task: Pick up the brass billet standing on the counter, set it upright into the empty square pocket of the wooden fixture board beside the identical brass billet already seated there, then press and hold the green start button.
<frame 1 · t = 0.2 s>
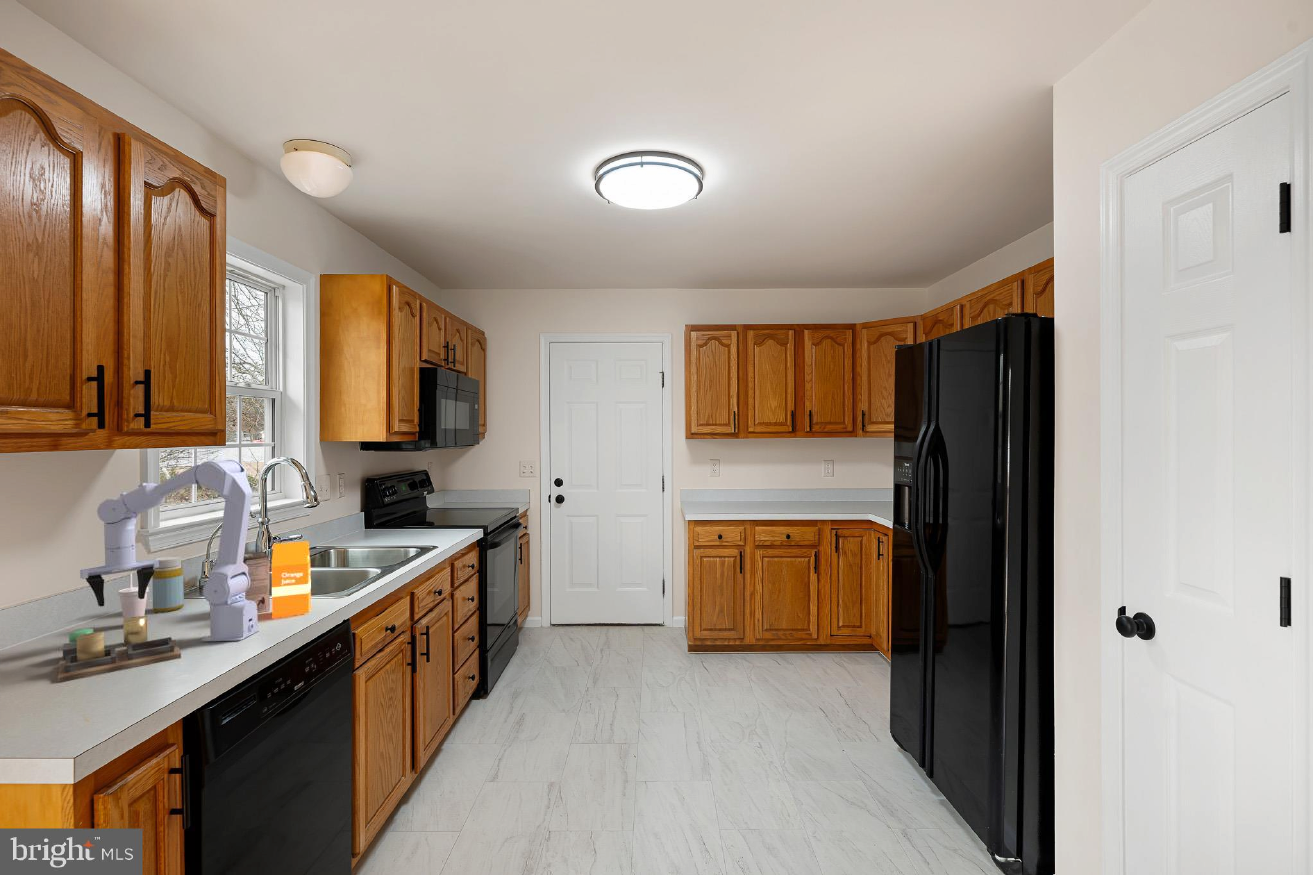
hand: (121, 602, 152), 10 cm above the counter, tool pointing down, fingers open, 7 cm apart
billet: (135, 642, 150), on the counter
button box: (81, 656, 141), on the counter
coffee box: (253, 610, 178), on the counter
start button: (81, 635, 141), point 5 cm above the counter, slide at 0.0 cm
bottle: (168, 610, 179), on the counter
smoothie: (134, 625, 164), on the counter
orange juice: (292, 613, 174), on the counter
wooden fixture board: (121, 661, 137), on the counter
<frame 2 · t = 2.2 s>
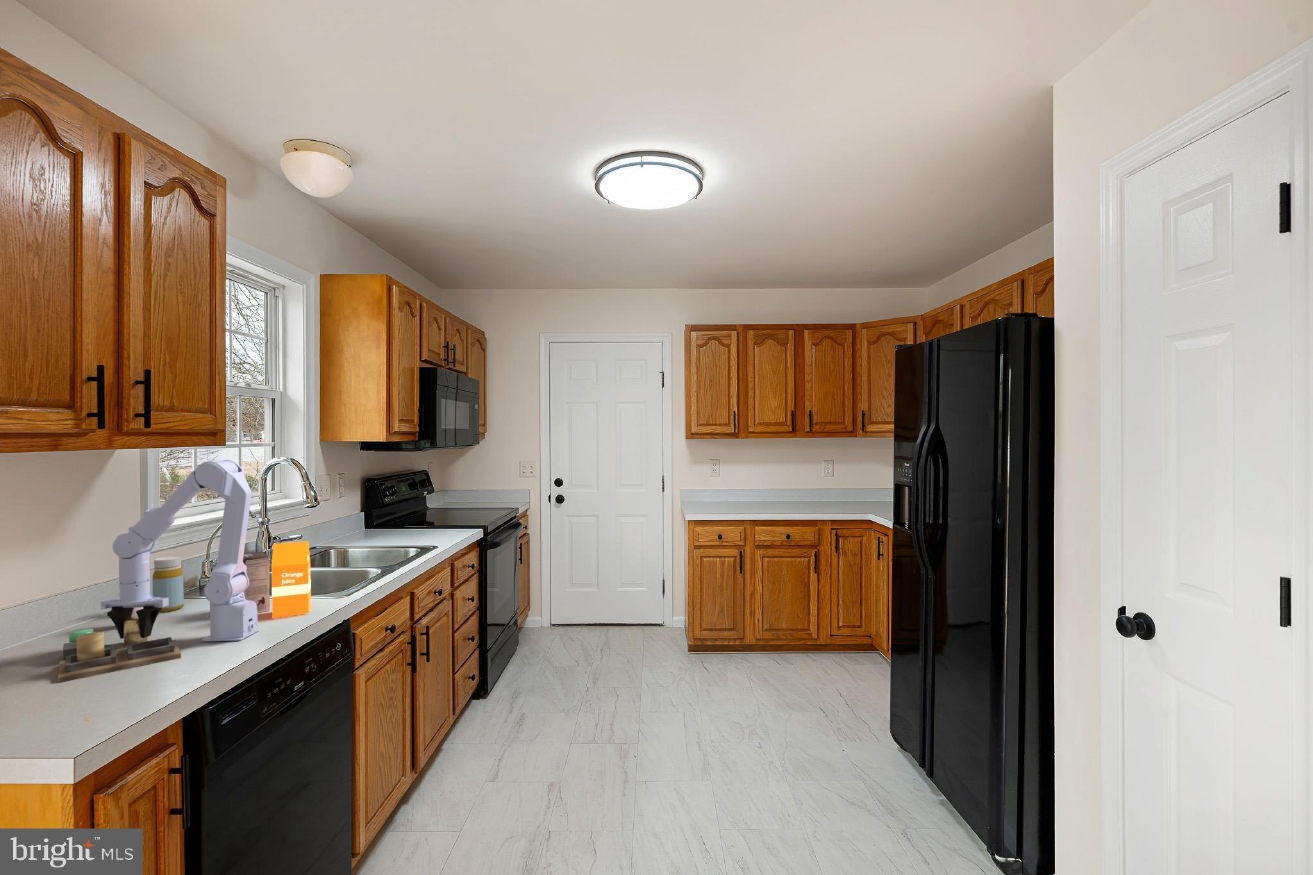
hand: (135, 637, 150), 1 cm above the counter, tool pointing down, fingers closed on billet, 4 cm apart
billet: (135, 642, 150), on the counter, touching gripper
everything else where it was.
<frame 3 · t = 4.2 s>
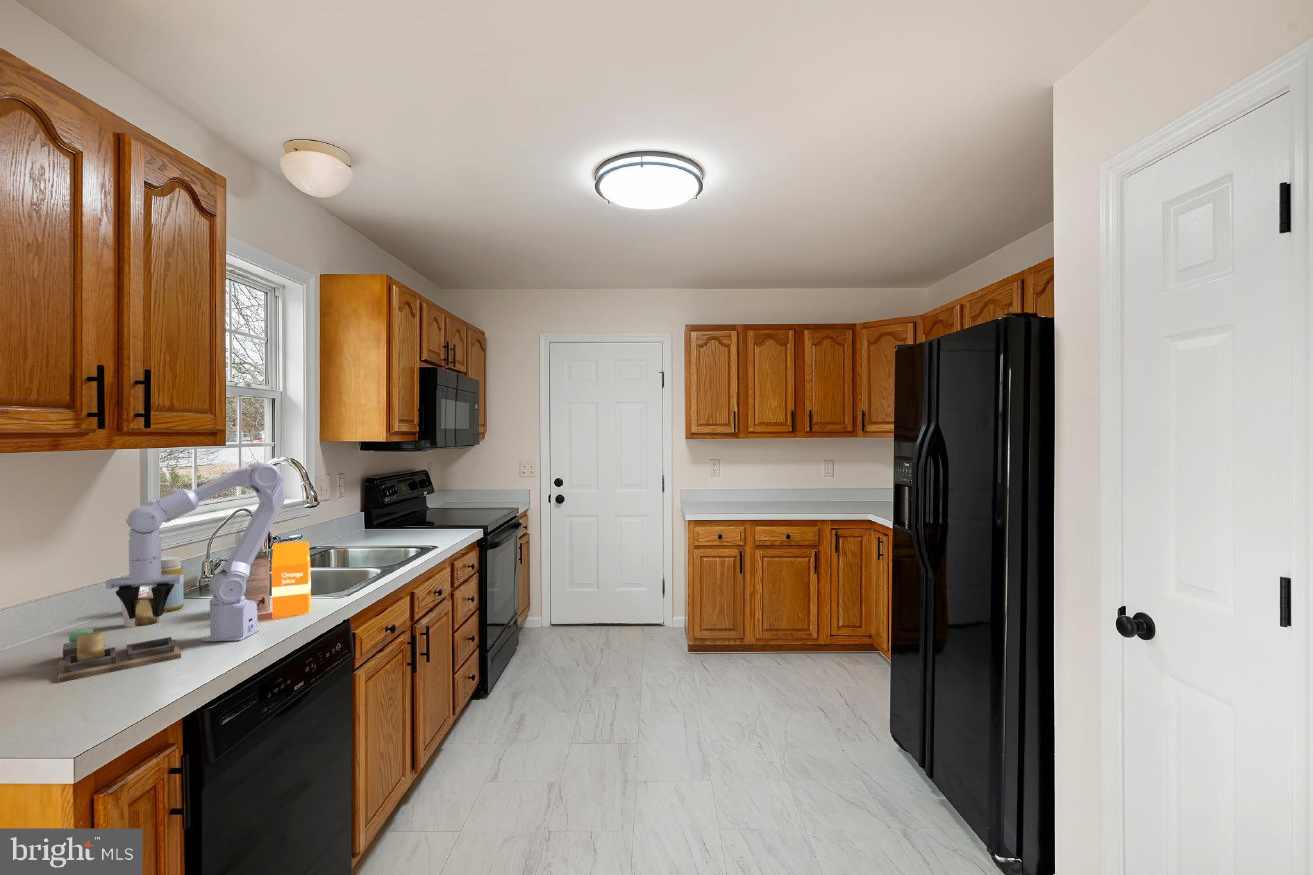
hand: (146, 616, 143), 8 cm above the counter, tool pointing down, fingers closed on billet, 4 cm apart
billet: (146, 623, 143), point 7 cm above the counter, touching gripper
everything else where it was.
when the fingers open (4 cm above the counter, at t = 6.2 s): billet drops 1 cm, resting on wooden fixture board.
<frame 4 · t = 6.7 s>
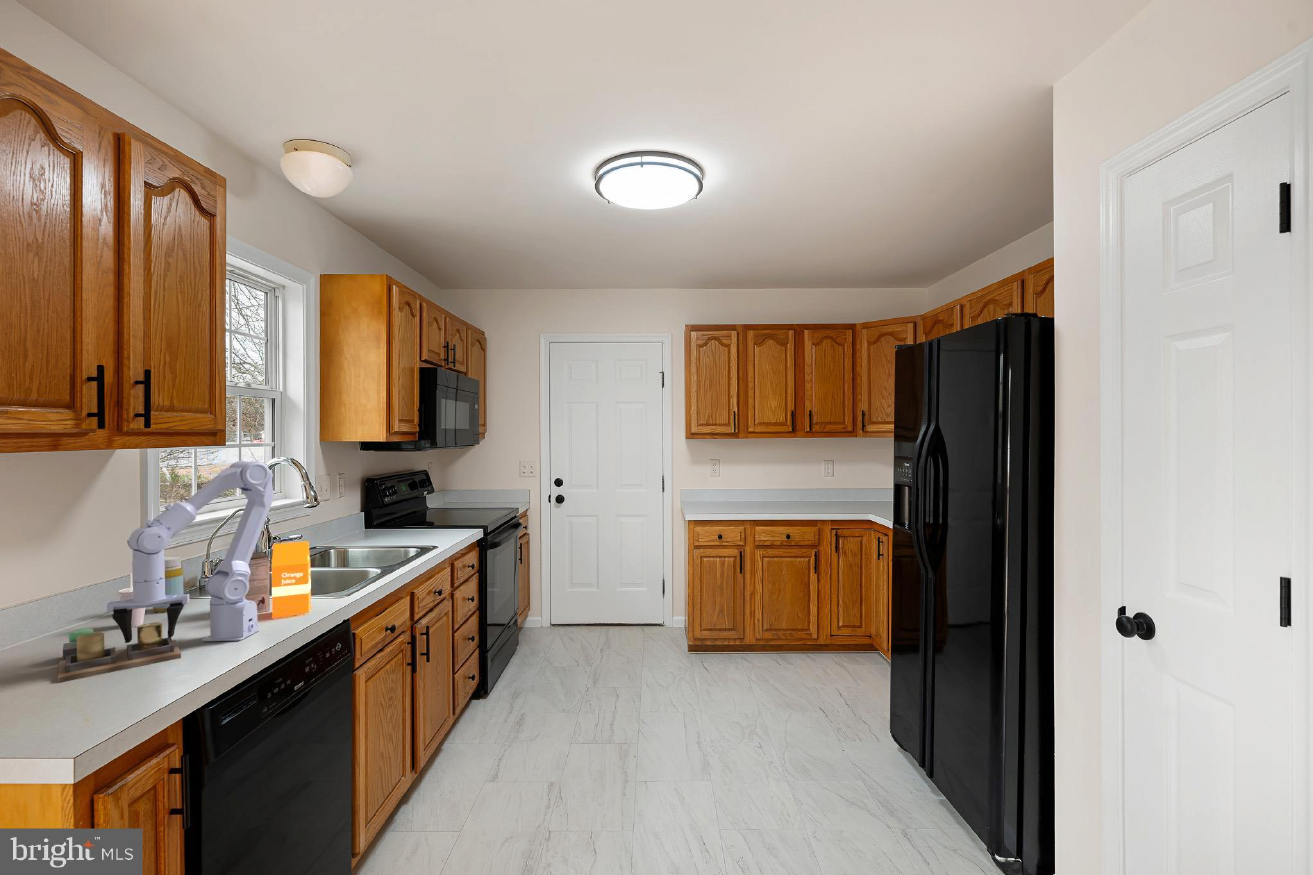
hand: (150, 638, 141), 4 cm above the counter, tool pointing down, fingers open, 7 cm apart
billet: (150, 651, 141), point 1 cm above the counter, touching wooden fixture board
everything else where it was.
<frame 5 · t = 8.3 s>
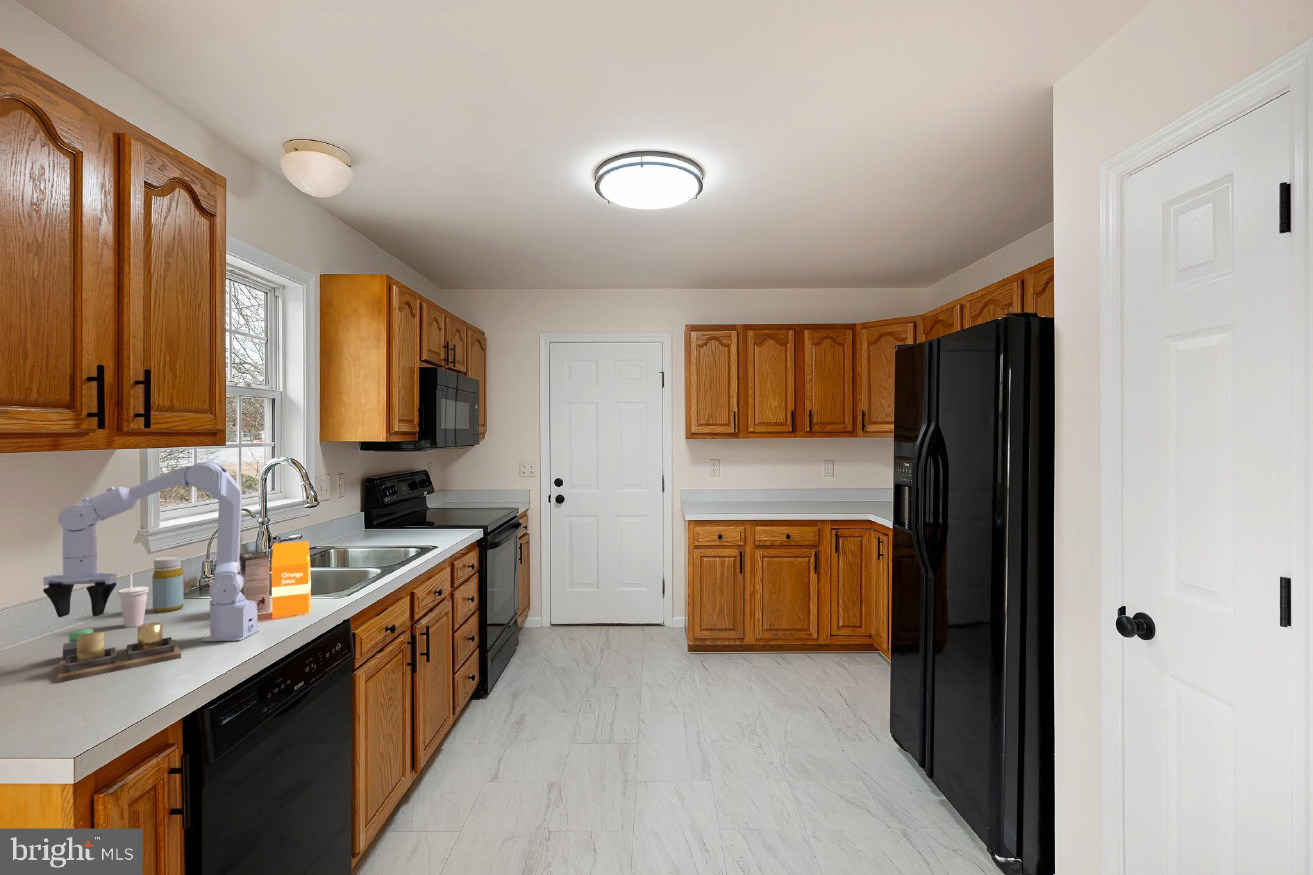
hand: (80, 615, 141), 9 cm above the counter, tool pointing down, fingers open, 7 cm apart
nothing on the counter moved.
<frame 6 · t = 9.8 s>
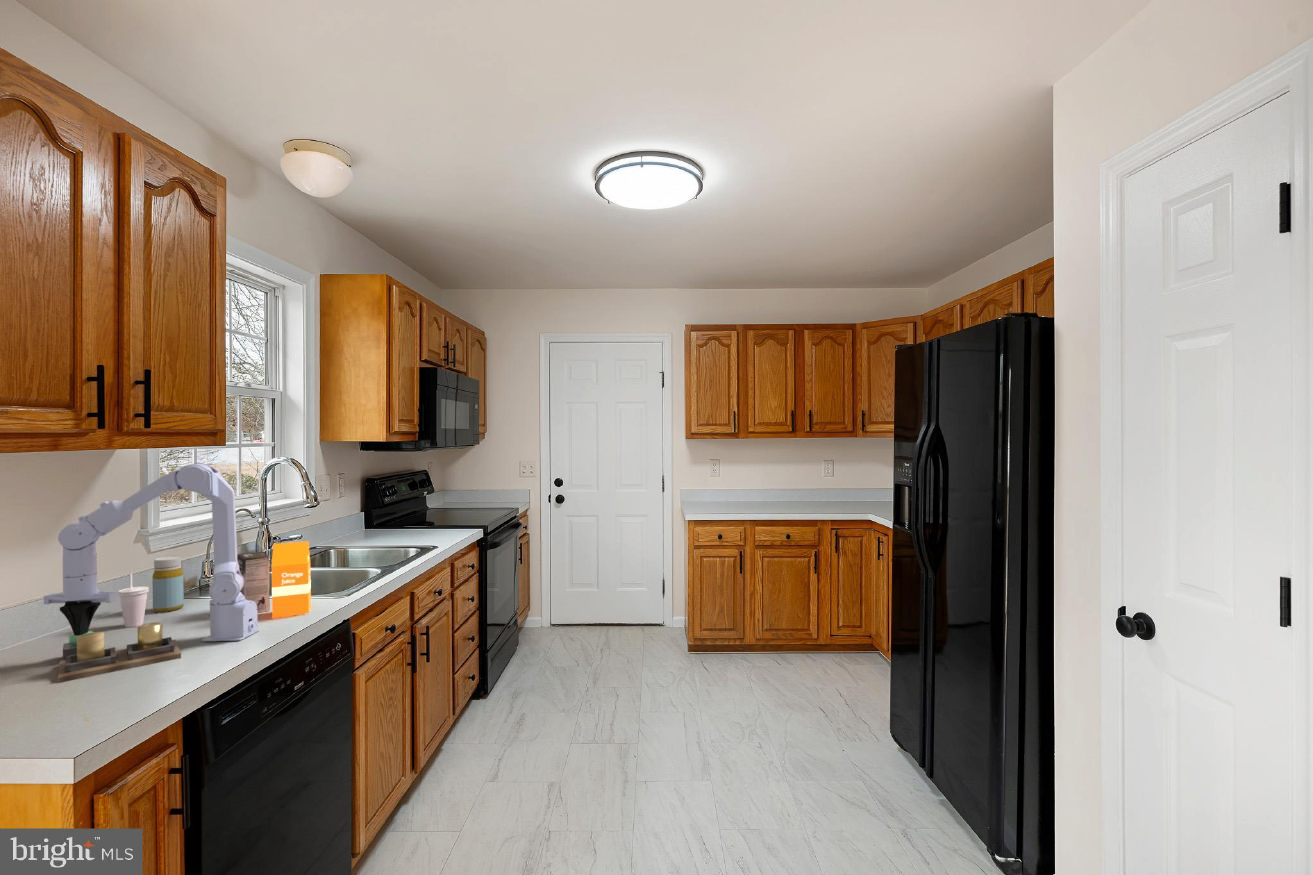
hand: (81, 634, 141), 5 cm above the counter, tool pointing down, fingers closed, pressing on start button
start button: (81, 637, 141), point 4 cm above the counter, slide at 0.6 cm, touching gripper
everything else where it was.
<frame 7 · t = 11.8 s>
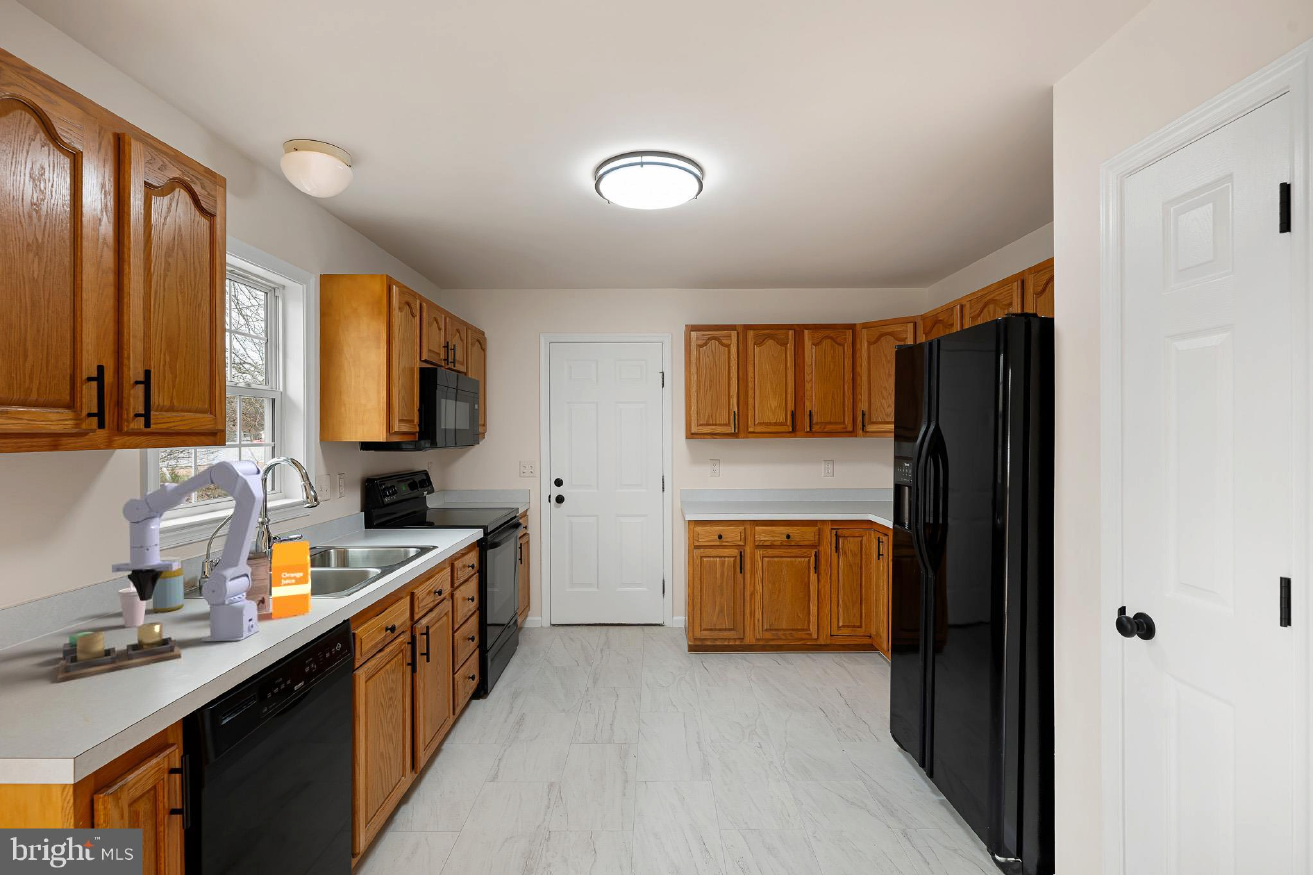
hand: (145, 599, 154), 9 cm above the counter, tool pointing down, fingers closed
start button: (81, 638, 141), point 4 cm above the counter, slide at 0.7 cm
everything else where it was.
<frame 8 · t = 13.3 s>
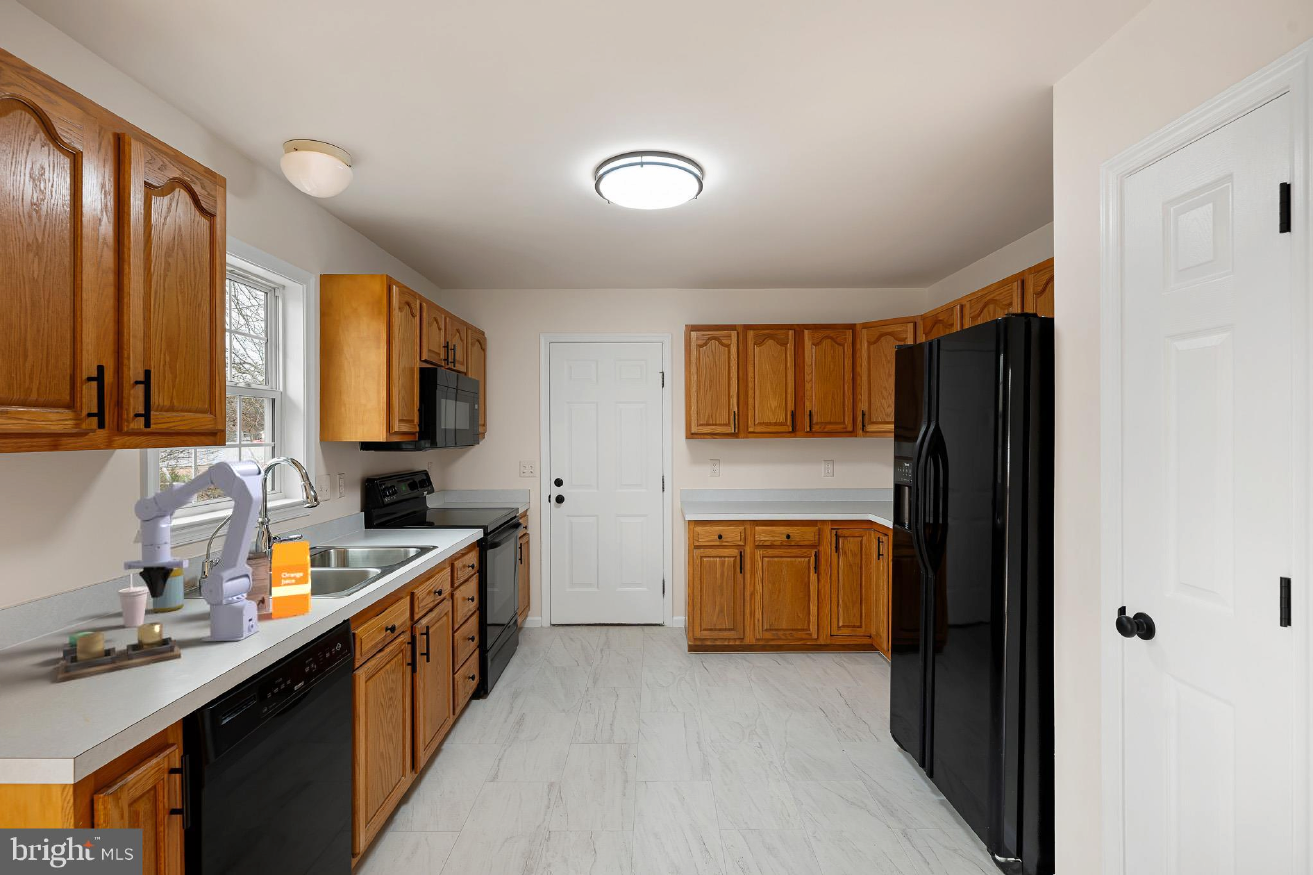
hand: (157, 596, 157), 9 cm above the counter, tool pointing down, fingers closed
nothing on the counter moved.
at the end: billet 0.2 cm from the target spot on the wooden fixture board, point 1.0 cm above the wooden fixture board's base; billet tilted 0°; start button slide at 0.7 cm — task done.
